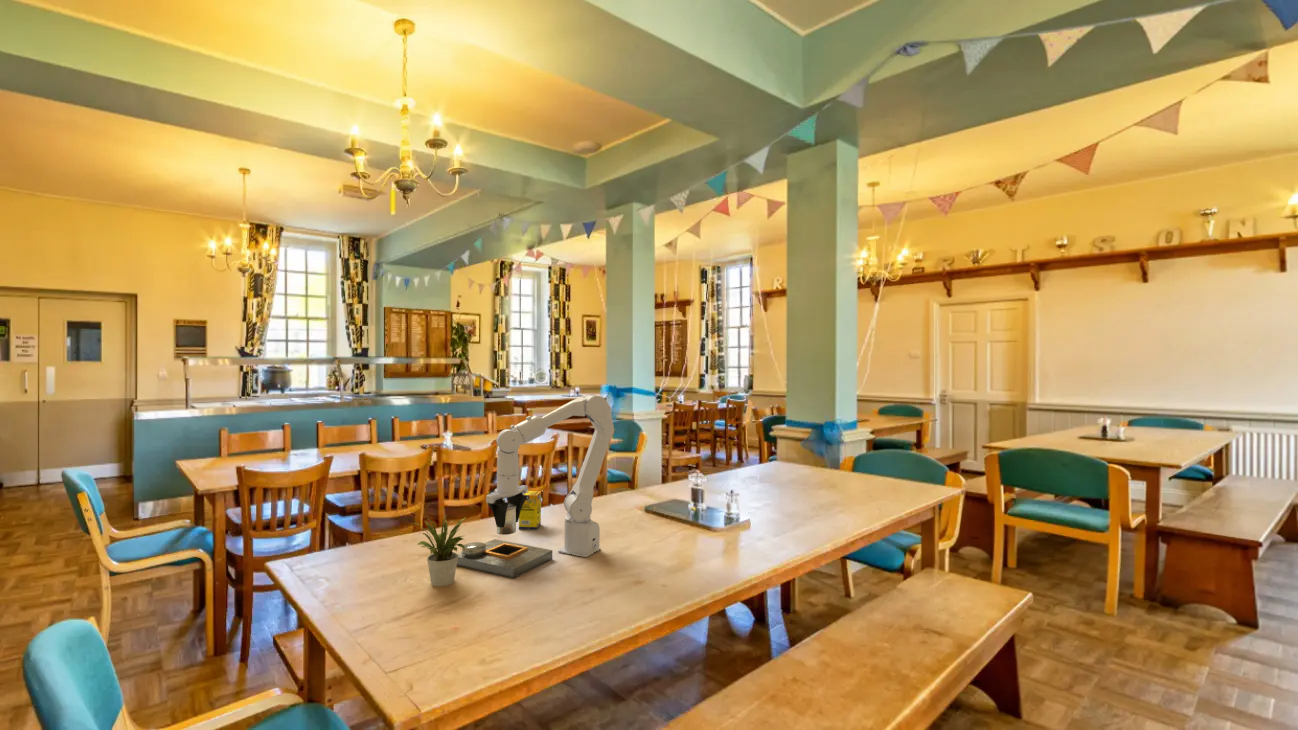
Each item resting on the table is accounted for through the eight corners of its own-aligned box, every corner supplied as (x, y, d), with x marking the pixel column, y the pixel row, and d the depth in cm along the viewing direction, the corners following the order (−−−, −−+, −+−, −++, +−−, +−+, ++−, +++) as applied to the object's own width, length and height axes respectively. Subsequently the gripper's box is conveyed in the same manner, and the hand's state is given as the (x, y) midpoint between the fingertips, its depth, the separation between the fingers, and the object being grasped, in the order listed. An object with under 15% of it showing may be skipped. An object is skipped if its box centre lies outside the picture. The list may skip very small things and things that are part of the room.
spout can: (520, 531, 160) (520, 499, 160) (505, 535, 156) (506, 503, 156) (506, 528, 163) (507, 497, 163) (492, 532, 159) (492, 500, 159)
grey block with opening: (552, 559, 158) (552, 542, 158) (513, 578, 144) (513, 560, 144) (494, 547, 167) (494, 532, 167) (452, 564, 153) (452, 548, 153)
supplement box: (537, 529, 185) (537, 495, 184) (518, 529, 185) (518, 494, 185) (541, 524, 191) (541, 490, 190) (522, 524, 191) (523, 490, 191)
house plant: (400, 597, 132) (401, 525, 131) (408, 575, 145) (409, 509, 145) (467, 592, 136) (467, 521, 135) (469, 570, 149) (469, 506, 149)
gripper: (514, 468, 167) (513, 515, 167) (477, 477, 154) (477, 528, 155) (533, 470, 164) (533, 519, 164) (498, 480, 151) (497, 532, 151)
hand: (507, 524), depth 159 cm, fingers closed on spout can, 5 cm apart
